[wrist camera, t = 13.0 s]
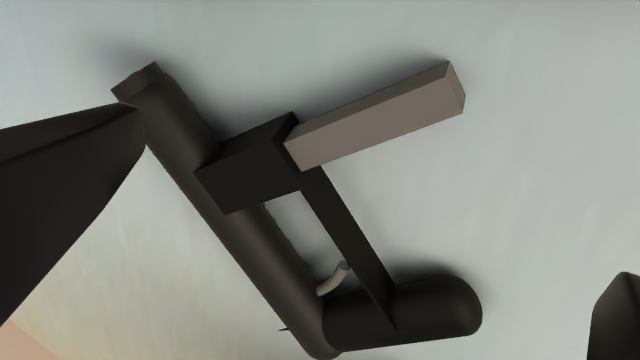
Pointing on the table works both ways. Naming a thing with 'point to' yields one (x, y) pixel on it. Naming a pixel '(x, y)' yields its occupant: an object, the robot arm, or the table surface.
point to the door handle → (308, 176)
